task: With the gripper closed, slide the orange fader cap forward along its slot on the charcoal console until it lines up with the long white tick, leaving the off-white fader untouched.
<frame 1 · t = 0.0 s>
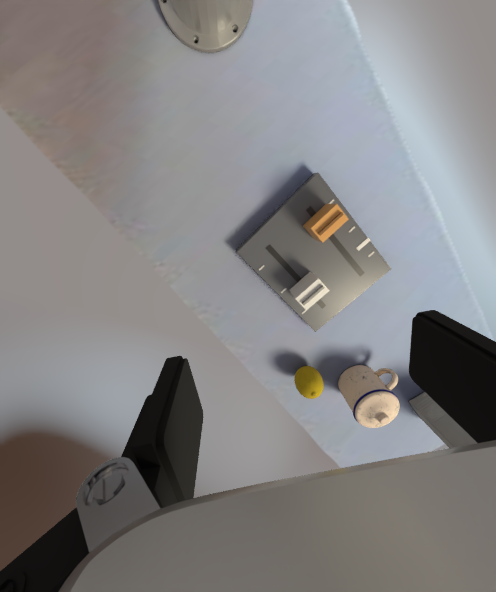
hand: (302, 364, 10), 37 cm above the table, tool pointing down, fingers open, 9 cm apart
skincare box: (427, 402, 62), on the table
teacup with lid: (360, 375, 58), on the table
fader white: (308, 290, 44), point 5 cm above the table, slide at 0.0 cm
lemon: (303, 368, 56), on the table
fader orange: (325, 222, 40), point 5 cm above the table, slide at 1.0 cm
console: (312, 258, 47), on the table
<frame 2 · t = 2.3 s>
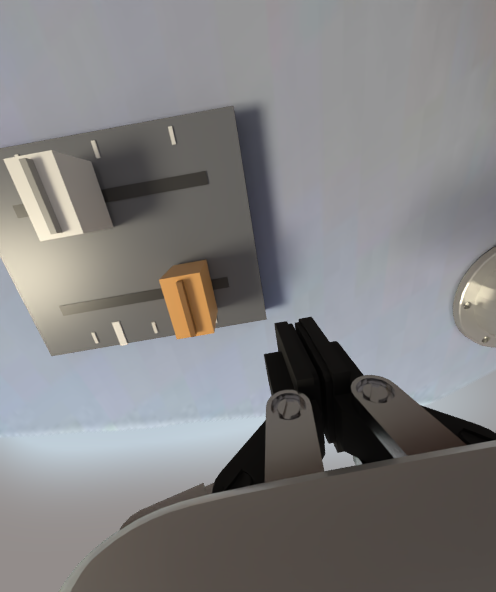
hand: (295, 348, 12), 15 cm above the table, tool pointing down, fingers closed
fader white: (64, 198, 18), point 5 cm above the table, slide at 0.0 cm
fader orange: (191, 298, 21), point 5 cm above the table, slide at 1.0 cm
console: (138, 244, 25), on the table
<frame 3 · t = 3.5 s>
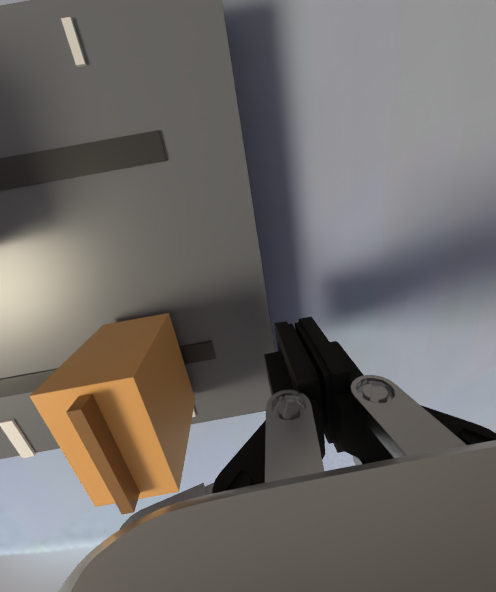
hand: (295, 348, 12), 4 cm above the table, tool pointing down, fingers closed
fader orange: (133, 403, 10), point 5 cm above the table, slide at 1.0 cm
console: (48, 278, 13), on the table
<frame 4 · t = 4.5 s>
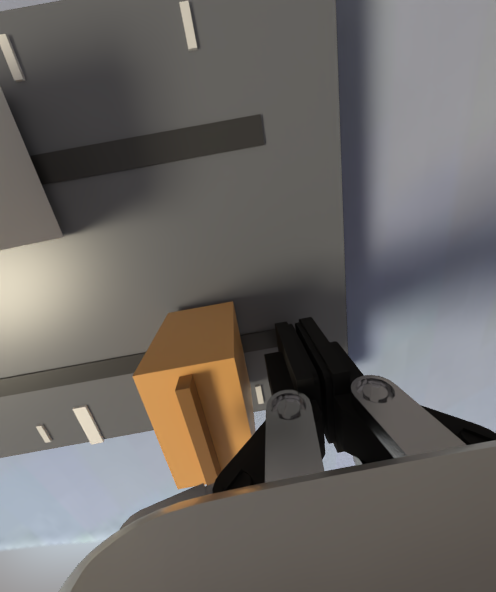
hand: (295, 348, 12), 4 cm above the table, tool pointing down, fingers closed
fader orange: (208, 389, 10), point 5 cm above the table, slide at 1.9 cm, touching gripper
console: (121, 266, 14), on the table
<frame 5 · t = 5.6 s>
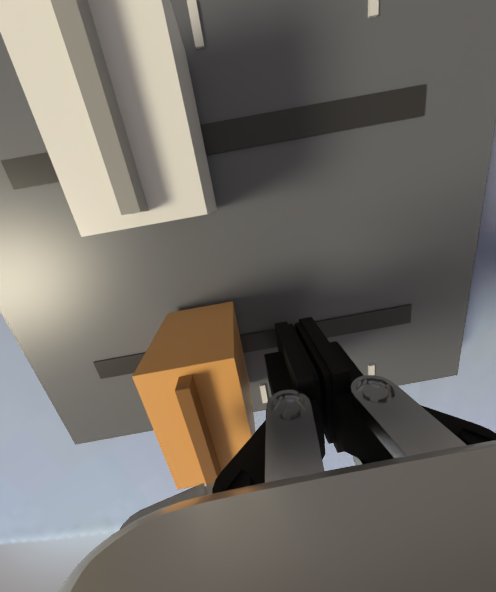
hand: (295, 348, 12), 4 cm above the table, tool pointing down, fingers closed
fader white: (138, 125, 7), point 5 cm above the table, slide at 0.0 cm
fader orange: (207, 389, 10), point 5 cm above the table, slide at 8.1 cm, touching gripper
console: (236, 245, 13), on the table
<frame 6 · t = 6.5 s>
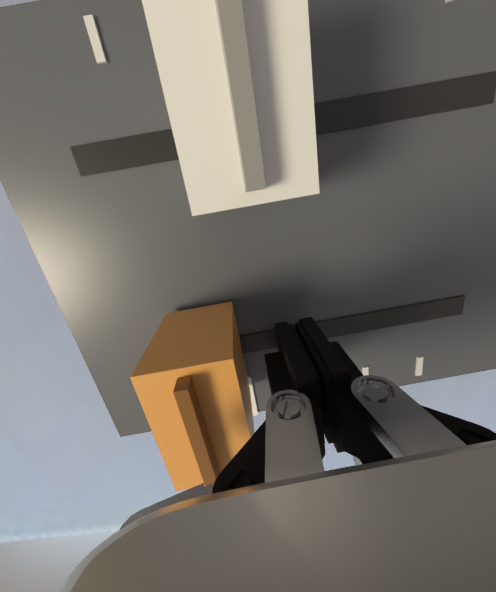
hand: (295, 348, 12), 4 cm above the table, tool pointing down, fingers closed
fader white: (234, 106, 7), point 5 cm above the table, slide at 0.0 cm
fader orange: (206, 390, 10), point 5 cm above the table, slide at 10.8 cm, touching gripper
console: (285, 236, 13), on the table
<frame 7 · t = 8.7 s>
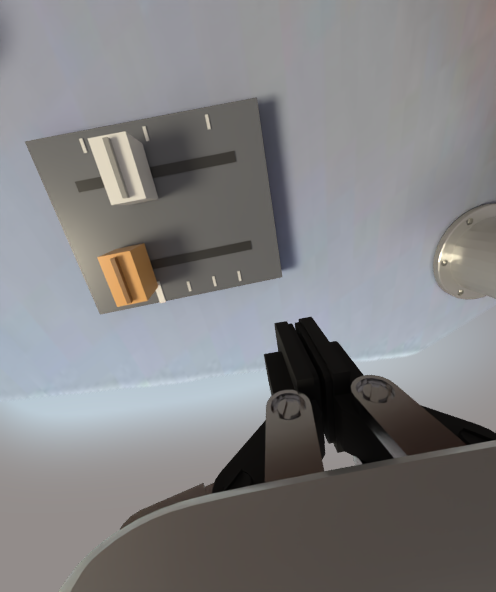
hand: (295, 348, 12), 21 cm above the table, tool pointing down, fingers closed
fader white: (126, 172, 23), point 5 cm above the table, slide at 0.0 cm
fader orange: (130, 274, 26), point 5 cm above the table, slide at 10.8 cm
console: (173, 216, 29), on the table
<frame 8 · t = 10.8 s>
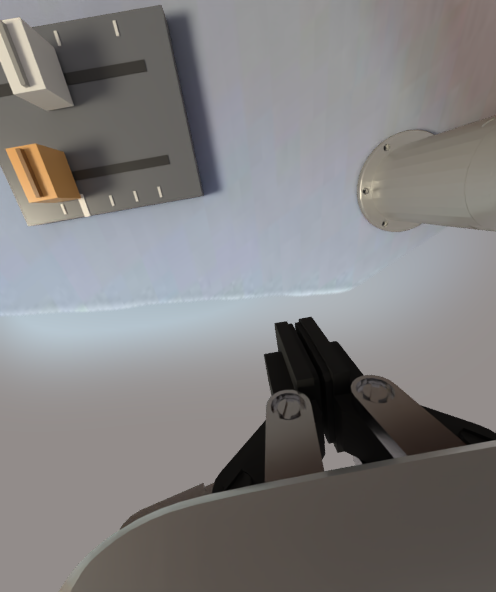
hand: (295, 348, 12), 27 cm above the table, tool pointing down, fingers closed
fader white: (32, 68, 24), point 5 cm above the table, slide at 0.0 cm
fader orange: (45, 175, 27), point 5 cm above the table, slide at 10.8 cm
console: (98, 132, 31), on the table
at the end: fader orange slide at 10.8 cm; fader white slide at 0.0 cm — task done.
